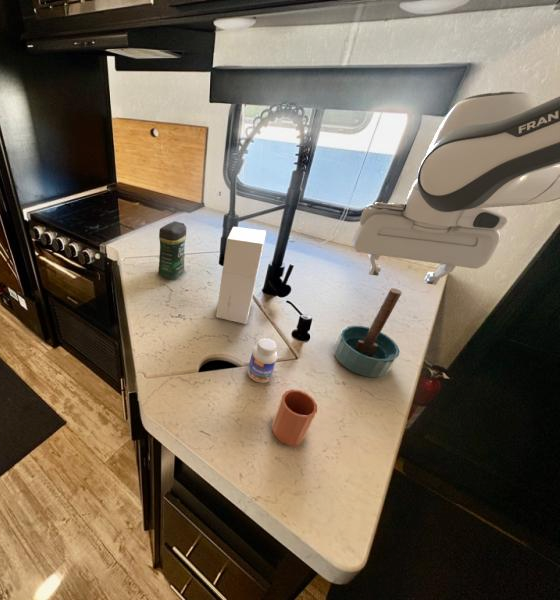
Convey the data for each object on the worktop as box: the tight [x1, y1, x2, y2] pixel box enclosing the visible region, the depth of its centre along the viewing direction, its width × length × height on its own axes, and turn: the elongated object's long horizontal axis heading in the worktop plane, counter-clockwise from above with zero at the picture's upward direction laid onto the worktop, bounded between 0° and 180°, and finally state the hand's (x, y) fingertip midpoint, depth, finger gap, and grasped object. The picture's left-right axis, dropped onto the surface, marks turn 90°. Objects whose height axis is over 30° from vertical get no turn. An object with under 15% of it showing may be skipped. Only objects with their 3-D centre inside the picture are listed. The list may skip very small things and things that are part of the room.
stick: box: [354, 287, 403, 357], centre depth 71 cm, size 4×2×20 cm, turn 69°
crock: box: [271, 389, 318, 447], centre depth 59 cm, size 6×6×9 cm
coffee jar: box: [158, 220, 187, 280], centre depth 107 cm, size 10×8×19 cm
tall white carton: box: [216, 226, 267, 325], centre depth 86 cm, size 9×9×25 cm
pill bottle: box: [247, 337, 278, 384], centre depth 71 cm, size 5×5×10 cm
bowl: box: [333, 325, 400, 378], centre depth 76 cm, size 12×12×6 cm
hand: (400, 278), depth 60 cm, fingers open, 8 cm apart
